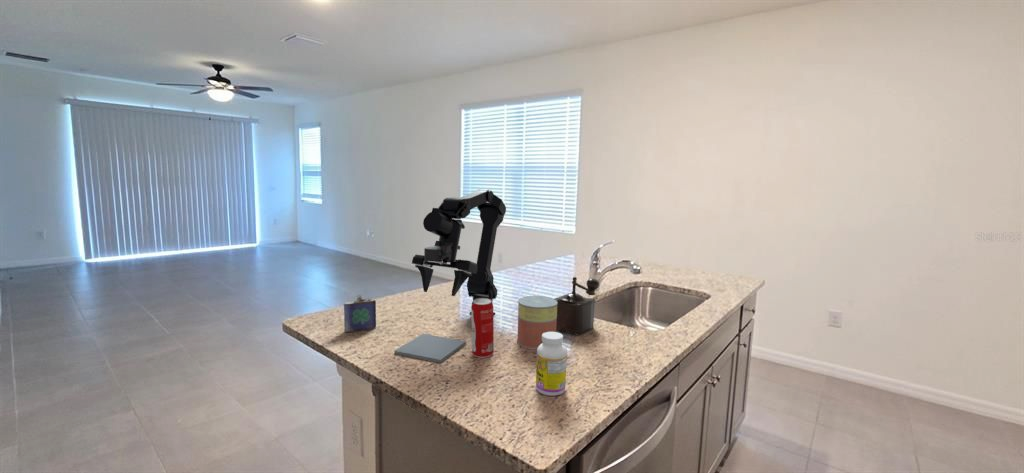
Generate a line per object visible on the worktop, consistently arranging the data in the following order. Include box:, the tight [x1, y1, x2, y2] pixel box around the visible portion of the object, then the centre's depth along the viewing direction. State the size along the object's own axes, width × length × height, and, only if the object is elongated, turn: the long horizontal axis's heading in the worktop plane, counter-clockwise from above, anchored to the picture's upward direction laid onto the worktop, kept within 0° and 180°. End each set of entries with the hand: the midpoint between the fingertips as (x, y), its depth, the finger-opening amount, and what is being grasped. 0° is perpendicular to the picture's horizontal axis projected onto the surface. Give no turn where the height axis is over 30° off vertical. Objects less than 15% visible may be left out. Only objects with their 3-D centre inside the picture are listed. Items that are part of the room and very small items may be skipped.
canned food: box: [516, 295, 558, 350], centre depth 128 cm, size 11×11×12 cm
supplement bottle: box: [535, 331, 568, 397], centre depth 99 cm, size 7×7×13 cm
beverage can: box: [470, 298, 495, 359], centre depth 118 cm, size 6×6×15 cm
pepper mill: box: [554, 276, 600, 336], centre depth 138 cm, size 16×11×18 cm
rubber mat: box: [394, 333, 467, 364], centre depth 122 cm, size 14×14×1 cm
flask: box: [343, 294, 377, 334], centre depth 134 cm, size 9×3×11 cm, turn 121°
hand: (438, 293), depth 126 cm, fingers open, 9 cm apart
